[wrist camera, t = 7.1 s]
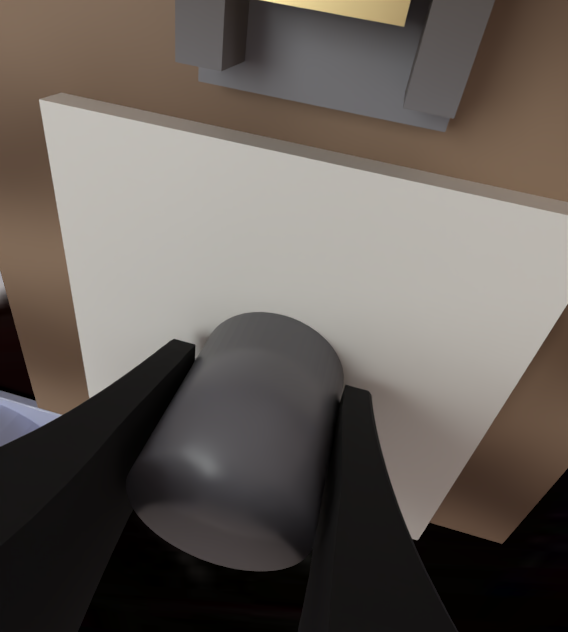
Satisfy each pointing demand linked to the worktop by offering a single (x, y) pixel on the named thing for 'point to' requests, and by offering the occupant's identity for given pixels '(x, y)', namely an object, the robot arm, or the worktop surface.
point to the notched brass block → (358, 8)
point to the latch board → (311, 130)
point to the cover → (293, 314)
